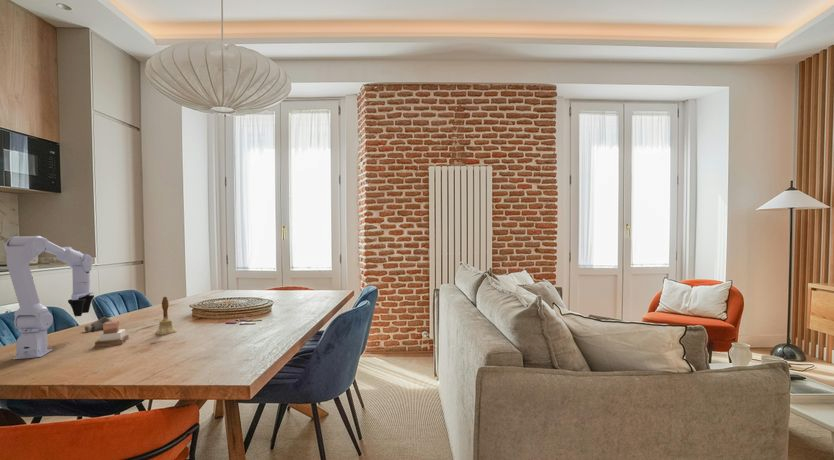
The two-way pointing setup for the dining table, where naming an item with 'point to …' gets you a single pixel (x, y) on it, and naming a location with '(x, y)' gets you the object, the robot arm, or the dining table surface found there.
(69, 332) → the dining table surface
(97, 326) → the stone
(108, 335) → the white flat square slab
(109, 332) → the block
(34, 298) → the robot arm
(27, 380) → the dining table surface
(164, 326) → the hand bell
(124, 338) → the tower base
